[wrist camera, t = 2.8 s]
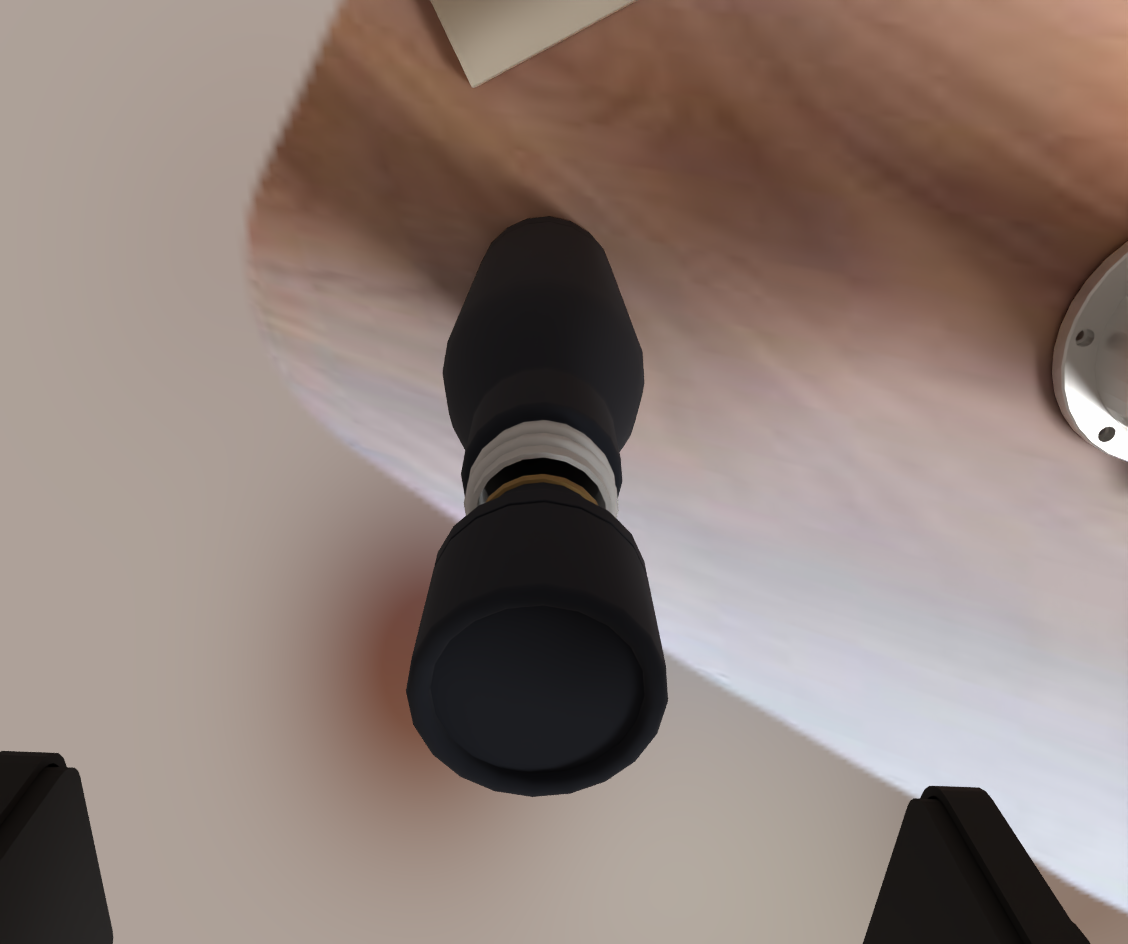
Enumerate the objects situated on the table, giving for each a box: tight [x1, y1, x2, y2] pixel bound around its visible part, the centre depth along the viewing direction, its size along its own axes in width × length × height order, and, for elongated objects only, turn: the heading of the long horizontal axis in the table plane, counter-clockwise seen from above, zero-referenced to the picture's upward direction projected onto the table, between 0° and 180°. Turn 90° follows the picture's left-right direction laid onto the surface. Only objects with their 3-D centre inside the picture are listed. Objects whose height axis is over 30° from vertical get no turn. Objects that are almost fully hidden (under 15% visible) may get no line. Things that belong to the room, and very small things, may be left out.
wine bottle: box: [406, 216, 668, 797], centre depth 26 cm, size 6×6×30 cm
